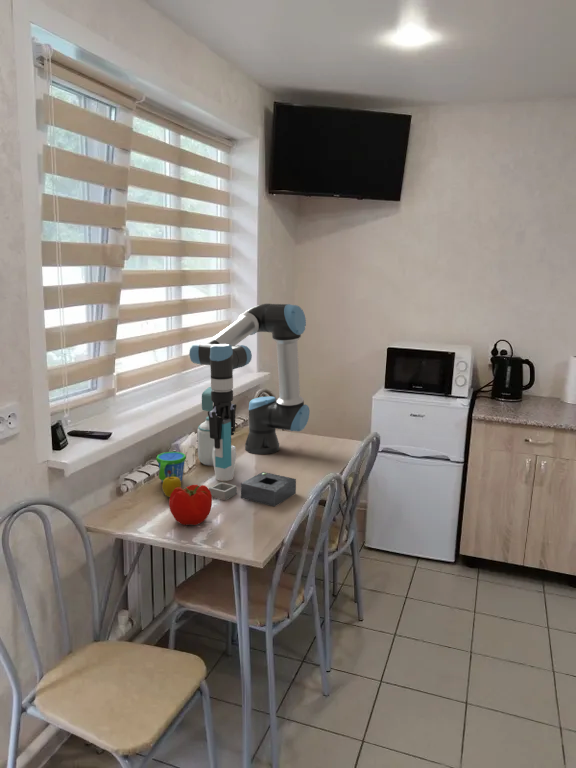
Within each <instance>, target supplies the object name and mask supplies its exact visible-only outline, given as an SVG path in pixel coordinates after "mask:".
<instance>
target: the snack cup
mask: <svg viewBox="0 0 576 768" xmlns="http://www.w3.org/2000/svg"><path fill="white" fill-rule="evenodd" d="M186 459H187V456H186V454H185V453H184V452H179V451H165V452H161V453H159V454H157V456H156V462H157V464H158V469H159V470H158V471H159V472H158V479H159V480H160V481H161V483H163V481H164V479H165V478H167V477H168V476H169V477H178V478H179V479H180V481H181V482H182V481H183V477H184V476H183V475H184V469H185V468H184V467H185V461H186Z"/></svg>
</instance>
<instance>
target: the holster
mask: <svg viewBox="0 0 576 768" xmlns="http://www.w3.org/2000/svg"><path fill="white" fill-rule="evenodd" d="M208 489H209V490H210V492H211V495H212V498H215V499H219V500H223V501H227V500H228V499H230V498H232V497H233V496H235V495H238V485H235V484H231V483H226V482H224V481H220V482H218V483H216V484H214V485H213V486H210V487H209V488H208Z"/></svg>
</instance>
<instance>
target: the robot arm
mask: <svg viewBox="0 0 576 768" xmlns="http://www.w3.org/2000/svg"><path fill="white" fill-rule="evenodd" d="M306 319H307V318H306V315H305V313H304V310H303V309H302V308H301V307H300V306H299V305H296V304H290V303H261V304H258V305H255V306H252V307H251V308H249V309H247V310H244V312H243V313H241V314H240V315H239V316H238V317H237V320H235V321H234V322H233V323H231V324H230V325H228V326H227V327H225V328H224V329H222V330H221V331H219V333H217V334H216V335H214V336H213V337H212V338H210V339H208V340H207V341H206V342H203V343H201V342H199V343H197V342H195V343H193V344H192V345H191V347H189V360H190V361H191V362H192V363H193V364H196V365H200V366H203V365H205V366H210V367H209V368H210V387H211V389H212V391H211V400H212V401H213V410H212V411H207V417H209V428H210V438H212V439H214V442H215V456H216V457H221V458H222V457H223V439H221V433H222V421H223V420H224V418H226V419H231V436H234V435H235V432H236V410H237V404H236V403H235V404H234V403H232V402H233V400H234V390H233V388H234V375H233V373H234V372H233V371H234V370H235V369H240V368H243V367H245V366H247V365H249V364H250V362H252V357H253V356H252V351H251V349H250V348H249V347H248V346H247V345H244V344H242V345H239V343H241V342H242V341H244V340H245V339H246V338H248V337H249V336H253V335H256V334H257V333H271V335H272V337H271V338H272V340H273V341H275V342H276V361H277V373H278V376H277V377H278V391H279V393H278V394H279V397H278V398H277V399H276V396H272V395H271V396H269V395H268V396H261V397H256V398H252V399H251V400H250V401H249V404H248V434H247V437H246V440H245V444H244V450H245V451H246V453H250V454H255V455H256V454H257V455H270V454H273V453H274V454H275V453H277V452H279V451H280V442H279V439H278V435H277V432H276V429H277V430H284V431H290V432H301V431H303V430H305V428H306V426H307V424H308V422H309V418H310V407H309V405H307V404H305V401H304V400H305V399H304V397H303V396H301V395H300V393H301V391H300V390H301V389H300V373H299V372H300V371H299V369H300V367H299V352H298V351H299V349H298V347H299V345H298V341H299V340H300V339H301V337H302V334H304V332H305V331H306V326H307V322H306V321H307V320H306Z"/></svg>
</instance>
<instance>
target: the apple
mask: <svg viewBox="0 0 576 768" xmlns="http://www.w3.org/2000/svg"><path fill="white" fill-rule="evenodd" d="M178 487H180V488H182V481H180V479H179V478H178V477H169V476H168V477H167V478H165V479H164V481H163V482H162V491H163V493H164V495H165V496H166V497H169V498H170V495H171V493H172V492H173V490H174V489H175V488H178Z"/></svg>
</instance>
